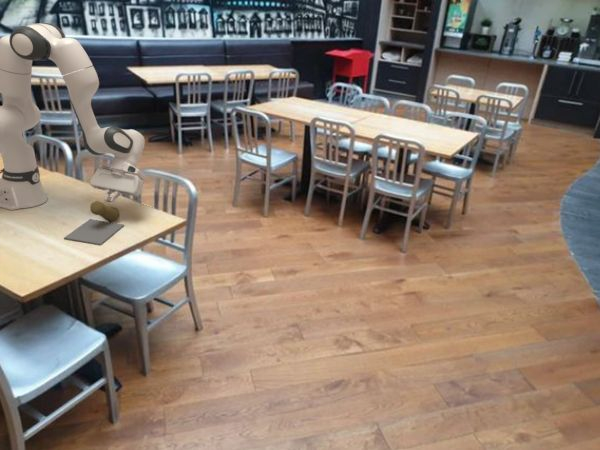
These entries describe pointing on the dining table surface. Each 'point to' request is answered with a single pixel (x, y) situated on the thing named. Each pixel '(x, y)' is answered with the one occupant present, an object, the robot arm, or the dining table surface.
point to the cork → (105, 211)
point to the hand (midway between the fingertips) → (109, 201)
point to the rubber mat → (94, 232)
